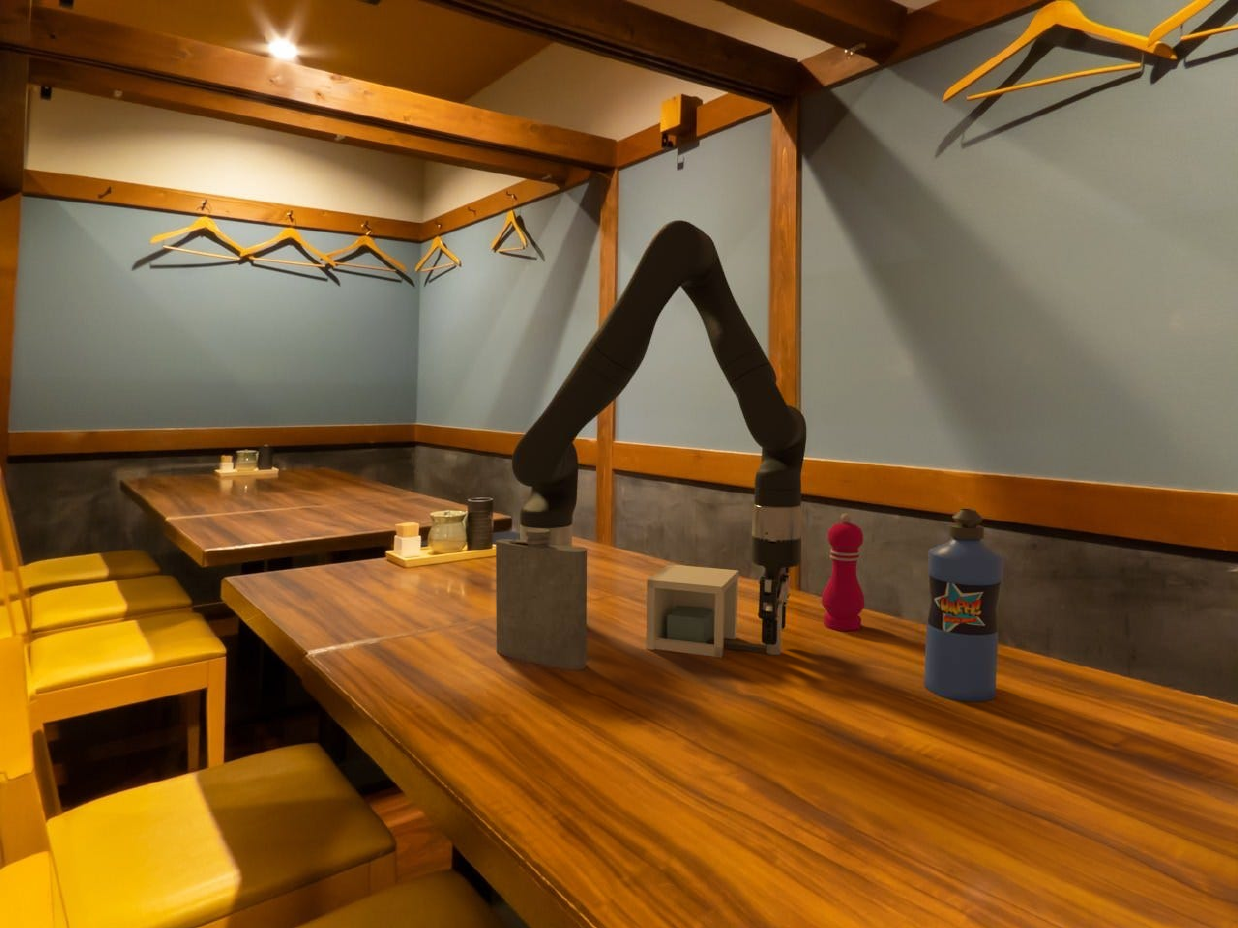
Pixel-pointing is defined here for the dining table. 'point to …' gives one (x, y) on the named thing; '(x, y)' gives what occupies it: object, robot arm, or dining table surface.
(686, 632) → the grey block with handle
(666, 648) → the shelf
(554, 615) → the hip flask
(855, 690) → the dining table surface
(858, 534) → the pepper mill
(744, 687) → the dining table surface
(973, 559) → the water bottle
